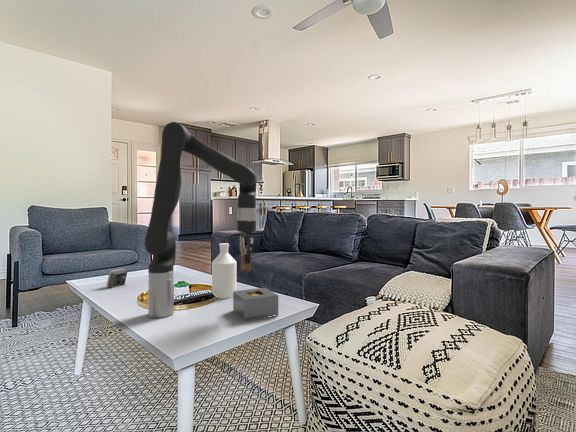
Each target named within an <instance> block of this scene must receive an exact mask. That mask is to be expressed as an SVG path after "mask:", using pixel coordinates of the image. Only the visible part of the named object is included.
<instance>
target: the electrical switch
mask: <svg viewBox="0 0 576 432" xmlns="http://www.w3.org/2000/svg"><path fill="white" fill-rule="evenodd" d="M127 276H128V271H126V270H125V268H117V269H113V270H110V271H109V272H108V277H107V282H106V288H108V289H109V288H111V289H114V288H117V287H123V286H125V284H126V281H127Z"/></svg>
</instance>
